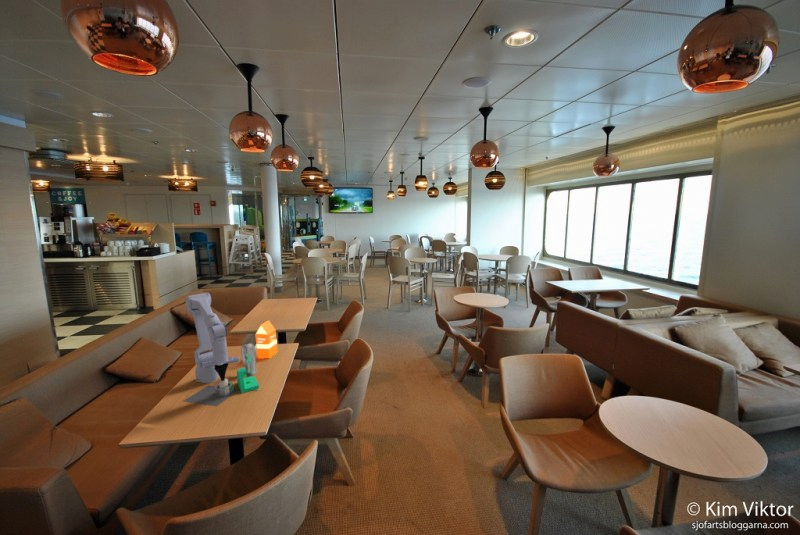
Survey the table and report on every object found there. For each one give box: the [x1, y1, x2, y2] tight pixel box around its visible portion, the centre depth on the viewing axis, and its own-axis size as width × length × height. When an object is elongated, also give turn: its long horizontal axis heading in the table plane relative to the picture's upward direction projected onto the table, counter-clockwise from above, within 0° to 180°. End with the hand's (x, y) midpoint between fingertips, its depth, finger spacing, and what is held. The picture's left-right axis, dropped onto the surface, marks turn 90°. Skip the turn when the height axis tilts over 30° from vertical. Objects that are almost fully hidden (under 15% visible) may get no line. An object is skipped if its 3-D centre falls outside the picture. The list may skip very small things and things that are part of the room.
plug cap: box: [218, 378, 229, 389], centre depth 150 cm, size 4×4×6 cm
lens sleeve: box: [214, 381, 235, 397], centre depth 150 cm, size 7×7×4 cm
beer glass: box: [240, 343, 258, 377], centre depth 171 cm, size 7×7×15 cm
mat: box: [183, 384, 241, 407], centre depth 149 cm, size 18×14×1 cm
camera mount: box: [236, 366, 260, 394], centre depth 156 cm, size 12×8×10 cm, turn 35°
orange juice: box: [254, 320, 278, 359], centre depth 192 cm, size 8×9×20 cm
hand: (223, 379), depth 150 cm, fingers closed
